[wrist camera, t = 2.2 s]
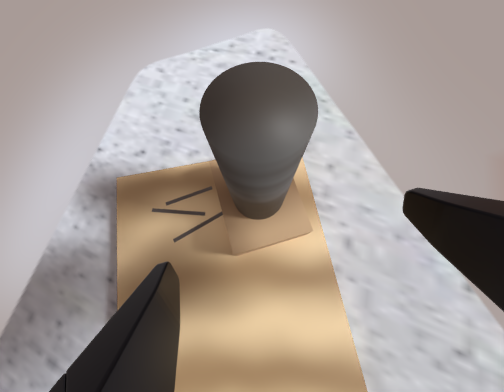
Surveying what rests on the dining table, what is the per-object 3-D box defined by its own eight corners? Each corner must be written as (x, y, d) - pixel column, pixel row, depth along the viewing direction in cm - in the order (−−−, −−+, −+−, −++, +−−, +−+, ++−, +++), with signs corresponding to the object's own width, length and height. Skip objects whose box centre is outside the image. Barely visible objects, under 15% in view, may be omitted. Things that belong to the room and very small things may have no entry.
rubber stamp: (305, 235, 17) (395, 187, 6) (237, 255, 16) (194, 247, 5) (276, 156, 19) (303, 9, 8) (215, 174, 18) (151, 46, 7)
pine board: (366, 413, 15) (378, 429, 13) (132, 462, 14) (118, 485, 13) (296, 153, 20) (299, 144, 19) (126, 183, 20) (116, 177, 19)
